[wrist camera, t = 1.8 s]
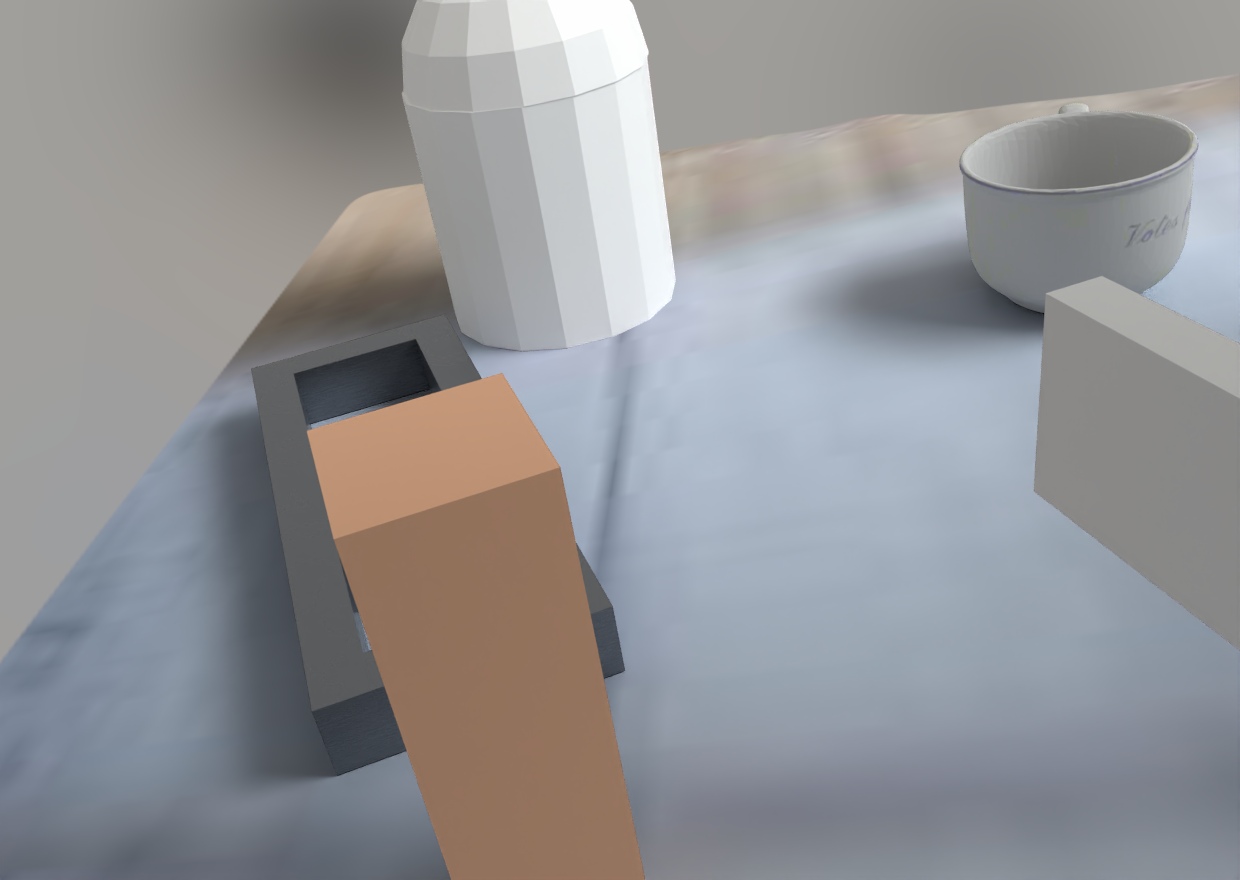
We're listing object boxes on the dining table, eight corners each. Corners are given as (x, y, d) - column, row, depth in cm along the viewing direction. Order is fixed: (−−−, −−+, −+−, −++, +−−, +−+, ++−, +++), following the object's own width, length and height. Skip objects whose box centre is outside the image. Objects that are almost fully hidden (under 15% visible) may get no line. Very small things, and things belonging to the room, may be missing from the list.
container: (618, 233, 76) (568, -94, 65) (719, 300, 65) (679, -79, 55) (427, 295, 72) (340, -44, 61) (501, 376, 61) (412, -17, 51)
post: (604, 826, 35) (502, 373, 27) (659, 950, 31) (559, 467, 23) (460, 884, 34) (306, 431, 26) (499, 1018, 30) (333, 538, 22)
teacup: (1164, 348, 54) (1184, 186, 50) (934, 326, 59) (934, 176, 55) (1198, 232, 64) (1217, 88, 60) (998, 221, 69) (1003, 87, 65)
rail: (456, 363, 63) (444, 314, 62) (624, 670, 41) (612, 606, 39) (268, 417, 61) (251, 368, 59) (337, 775, 38) (311, 711, 37)
